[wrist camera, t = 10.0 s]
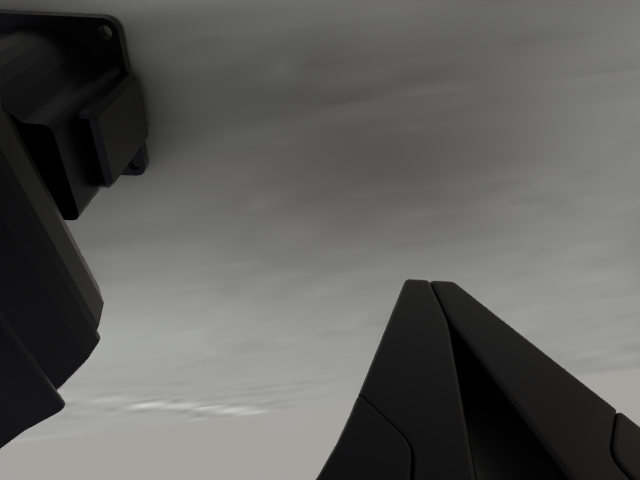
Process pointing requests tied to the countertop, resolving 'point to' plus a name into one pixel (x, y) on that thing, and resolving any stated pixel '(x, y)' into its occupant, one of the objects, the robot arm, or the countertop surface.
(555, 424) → the robot arm
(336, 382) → the countertop surface
